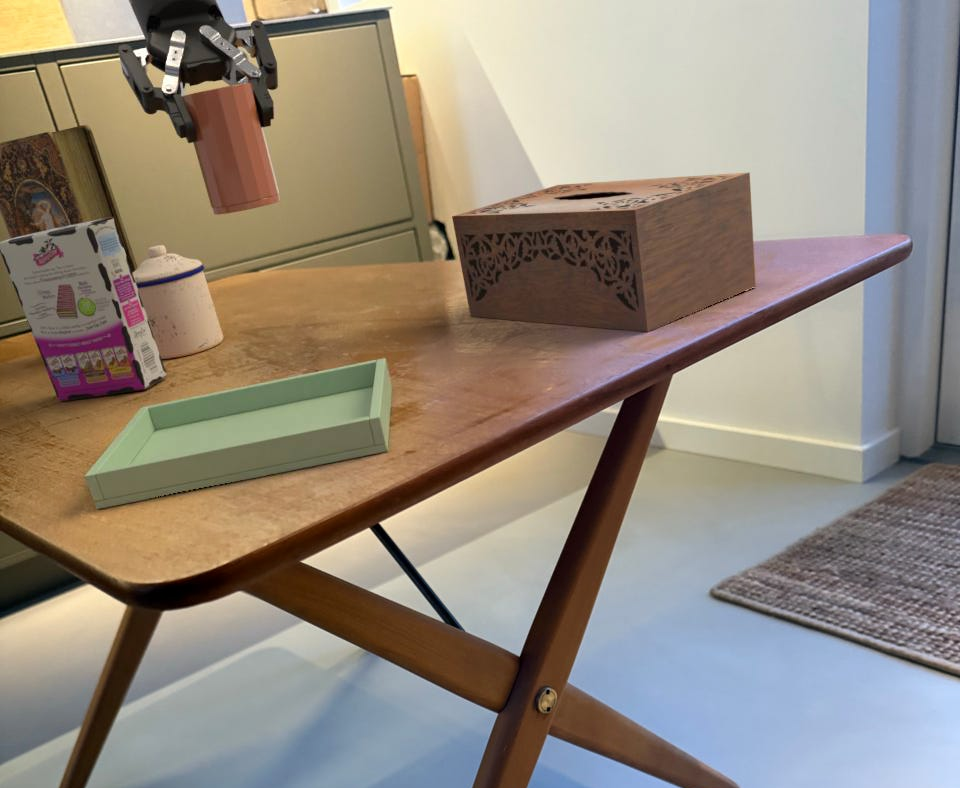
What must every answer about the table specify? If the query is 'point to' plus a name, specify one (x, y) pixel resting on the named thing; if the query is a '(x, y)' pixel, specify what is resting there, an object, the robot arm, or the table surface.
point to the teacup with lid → (177, 303)
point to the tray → (246, 434)
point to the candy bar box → (84, 309)
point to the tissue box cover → (610, 251)
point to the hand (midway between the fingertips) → (229, 126)
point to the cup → (232, 149)
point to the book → (56, 184)
